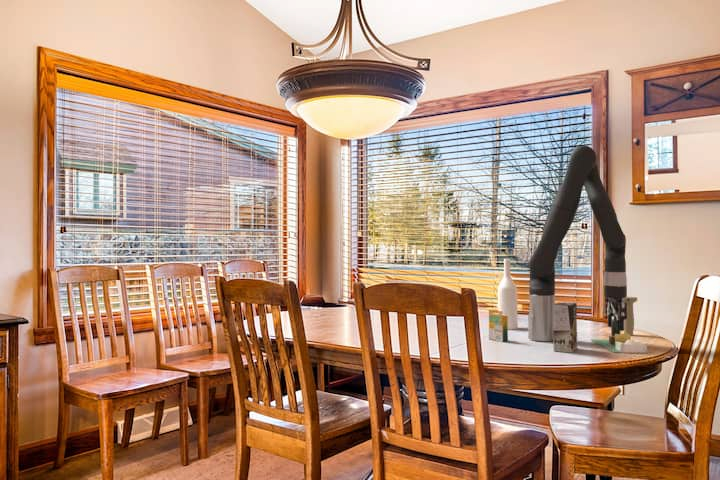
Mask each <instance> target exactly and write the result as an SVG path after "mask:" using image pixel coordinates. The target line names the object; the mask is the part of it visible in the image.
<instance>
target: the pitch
mask: <svg viewBox="0 0 720 480" xmlns="http://www.w3.org/2000/svg"><path fill="white" fill-rule="evenodd" d="M591 341H592V343H595V344H597V345H599V346H600V347H602V348H604V349H606V350H608V351H610V352H611V353H613V354H626V353H625V352H624V353H622V352H620V351H618V350H617V349H616V345H611V344H609V339H591ZM629 354H634V353H633V352H632V353H631V352H630V353H629ZM635 354H647V353H646V352H645V353H644V352H643V353H641V352H640V353H639V352H638V353H637V352H636V353H635Z"/></svg>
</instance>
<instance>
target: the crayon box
mask: <svg viewBox="0 0 720 480" xmlns="http://www.w3.org/2000/svg"><path fill="white" fill-rule="evenodd" d="M498 313H499V314H498ZM508 331H509V330H508V316H505V315H502V311H498V310H495V309H488V340H491V341H496V342H500V343H506V342H509V340H508V339H509V333H508Z"/></svg>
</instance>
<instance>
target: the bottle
mask: <svg viewBox="0 0 720 480" xmlns="http://www.w3.org/2000/svg"><path fill="white" fill-rule="evenodd" d="M511 276H512V275H511V259H510V258H504V259H503V278H502V280H501V282H500V283H499V285H498V287H497V309H498V310H497V311H502V315H505V316H508V331H510V330H518V327H519V325H518V287H517V285H516V284H515V283H516V282H514V281H513V278H512V277H511ZM497 314H499V313H498V312H497Z"/></svg>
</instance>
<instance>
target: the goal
mask: <svg viewBox="0 0 720 480" xmlns="http://www.w3.org/2000/svg"><path fill="white" fill-rule="evenodd" d="M616 349H617V350H618V351H620V352H622V353H621V354H648V343H647V342H646V343H645V342H643V341H638V343H636V344H623V343H621V342H616ZM624 352H625V353H624ZM630 352H631V353H630ZM632 352H633V353H632ZM636 352H637V353H636ZM638 352H639V353H638ZM640 352H641V353H640ZM643 352H644V353H643ZM645 352H646V353H645Z"/></svg>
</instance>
